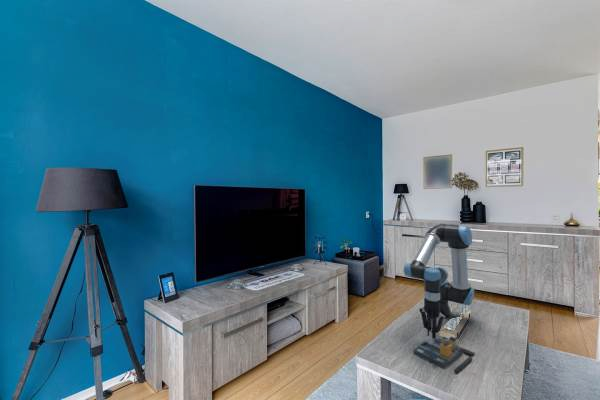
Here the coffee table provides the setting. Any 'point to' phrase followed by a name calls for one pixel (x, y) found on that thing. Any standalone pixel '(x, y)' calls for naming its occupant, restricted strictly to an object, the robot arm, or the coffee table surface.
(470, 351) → the cord front
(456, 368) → the rod
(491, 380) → the coffee table surface
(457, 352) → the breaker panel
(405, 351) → the coffee table surface
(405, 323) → the coffee table surface
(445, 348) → the block
